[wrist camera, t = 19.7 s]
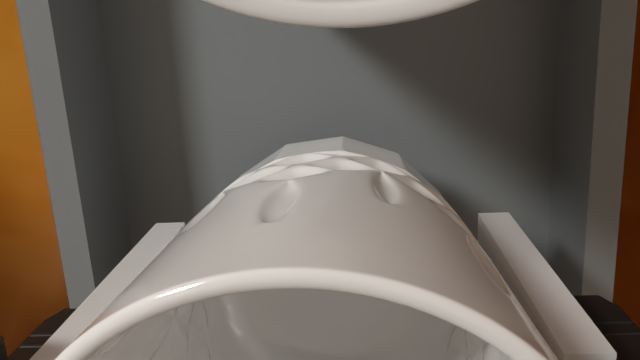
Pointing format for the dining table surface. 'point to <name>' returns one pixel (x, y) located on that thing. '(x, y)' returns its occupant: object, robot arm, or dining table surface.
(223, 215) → the white cup
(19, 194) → the dining table surface
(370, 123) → the tray
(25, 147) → the dining table surface
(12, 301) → the dining table surface
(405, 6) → the mug
